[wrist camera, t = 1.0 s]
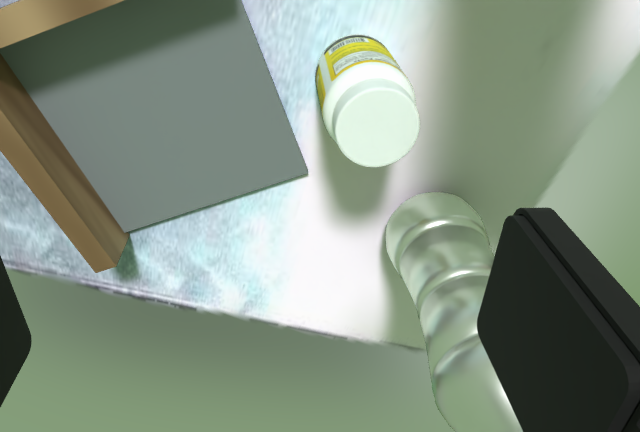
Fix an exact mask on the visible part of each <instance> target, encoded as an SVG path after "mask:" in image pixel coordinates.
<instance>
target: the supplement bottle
mask: <svg viewBox="0 0 640 432" xmlns="http://www.w3.org/2000/svg"><path fill="white" fill-rule="evenodd" d="M315 81H316V87H317V92H318V96H319V101H320V106H321V111H322V117H323V121H324V124H325V127H326V130H327V131H328V133H329V135H330V136H331V137H332V139H333V140H334V141H335V142H336V143H337V144H338V147H339V148H340V150H341V152H342V153H343V154H344V155H345V156H346V157H347V158H348V159H349V160H351V161H352V162H354V163H356V164H358V165H361V166H365V167H382V166H387V165H390V164H392V163H394V162H396V161H398V160H400V159H401V158H402V157H404V156H405V155H406V154H407V153H408V152H409V151H410V149H411V148H412V147H413V145H414V144H415V142H416V139H417V137H418V134H419V129H420V119H419V114H418V111H417V108H416V99H415V94H414V90H413V88H412V85H411V83H410V82H409V80H408V78H407V77H406V76H405V74H404V73H403V71H402V70H401V68H400V67H399V65H398V64H397V62H396V61H395V60H394V58H393V57H392V55H391V54H390V53H389V51H388V50H387V49H386V47H385V46H384V45H383V44H382V43H381V42H379V41H378V40H376V39H374V38H372V37H370V36H367V35H361V34H351V35H346V36H343V37H341V38H339V39H337V40H335V41H334V42H332V43H331V44H330V45H329V46H328V47H327V48H326V49H325V50H324V51H323V53H322V54H321V56H320V58H319V60H318V63H317V67H316V72H315Z"/></svg>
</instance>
